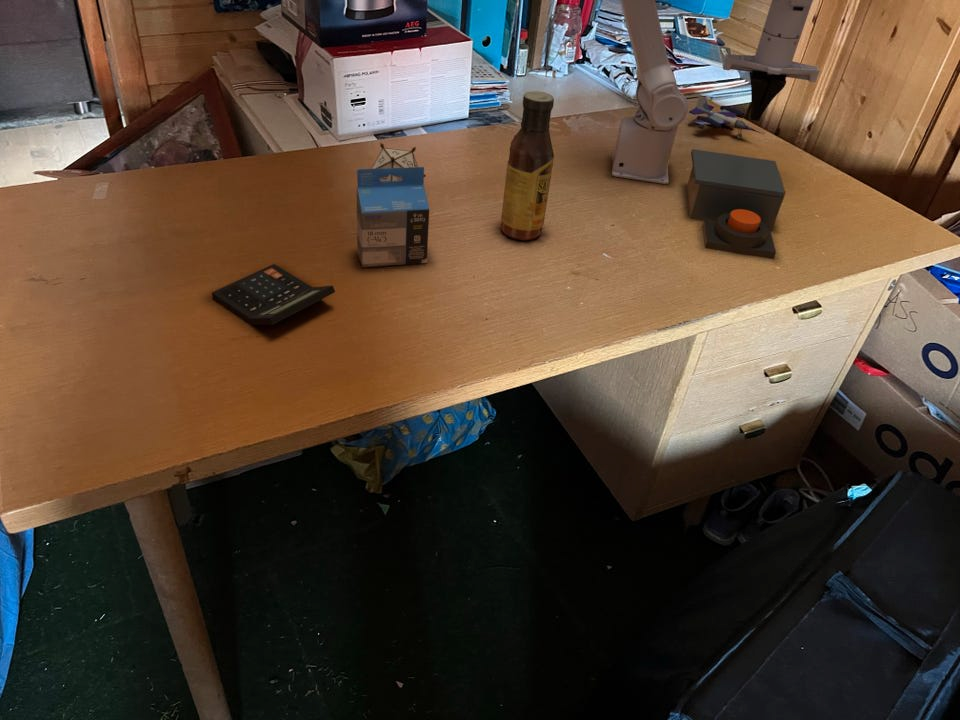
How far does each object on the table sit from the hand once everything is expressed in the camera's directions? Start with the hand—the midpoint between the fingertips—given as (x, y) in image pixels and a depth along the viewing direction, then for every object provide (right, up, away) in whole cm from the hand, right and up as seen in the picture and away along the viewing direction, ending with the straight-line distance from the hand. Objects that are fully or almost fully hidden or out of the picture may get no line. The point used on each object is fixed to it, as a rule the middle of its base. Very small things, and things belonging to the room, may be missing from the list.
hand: (754, 118), depth 125 cm
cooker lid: (-5, -11, -7) cm, 14 cm away
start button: (-7, -20, -13) cm, 25 cm away
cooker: (-6, -16, -3) cm, 17 cm away
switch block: (-7, -22, -12) cm, 26 cm away
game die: (-58, -15, -10) cm, 61 cm away
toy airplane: (+2, +4, +22) cm, 23 cm away
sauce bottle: (-40, -21, -15) cm, 47 cm away
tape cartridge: (-57, -27, -23) cm, 67 cm away
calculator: (-71, -33, -33) cm, 85 cm away
